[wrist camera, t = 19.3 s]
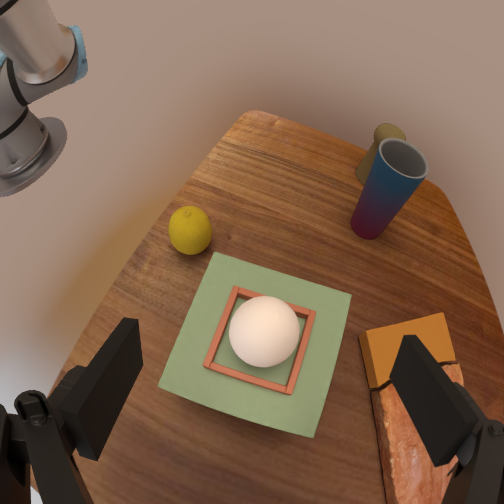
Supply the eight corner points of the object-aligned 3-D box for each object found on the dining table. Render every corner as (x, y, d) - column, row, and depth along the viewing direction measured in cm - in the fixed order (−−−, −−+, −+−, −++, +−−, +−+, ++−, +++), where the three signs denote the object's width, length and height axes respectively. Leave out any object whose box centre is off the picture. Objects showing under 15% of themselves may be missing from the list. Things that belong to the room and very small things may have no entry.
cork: (382, 195, 49) (408, 149, 40) (351, 179, 50) (371, 130, 41) (390, 174, 52) (413, 129, 42) (361, 159, 53) (379, 112, 43)
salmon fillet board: (434, 318, 39) (446, 310, 36) (463, 501, 25) (477, 504, 22) (356, 336, 38) (365, 330, 35) (387, 539, 24) (397, 546, 21)
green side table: (178, 393, 34) (153, 385, 23) (219, 290, 40) (213, 245, 30) (292, 431, 32) (316, 439, 22) (324, 324, 38) (355, 289, 28)
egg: (243, 305, 28) (245, 268, 22) (299, 325, 28) (319, 294, 21) (220, 359, 26) (214, 339, 19) (279, 380, 25) (294, 369, 18)
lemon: (220, 237, 44) (217, 202, 37) (202, 270, 41) (195, 239, 34) (186, 224, 45) (177, 188, 38) (167, 255, 42) (154, 222, 35)
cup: (365, 201, 48) (399, 132, 35) (393, 232, 46) (438, 167, 33) (336, 218, 46) (367, 146, 33) (365, 252, 44) (409, 186, 31)
